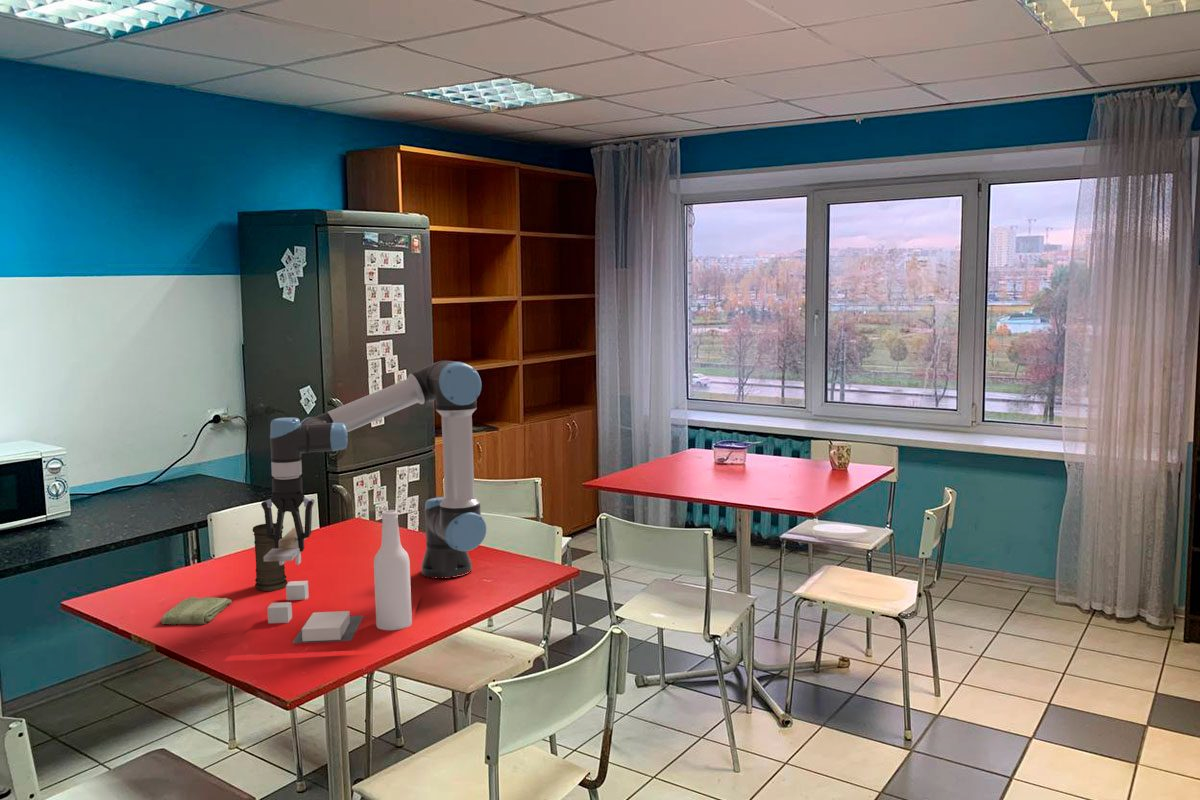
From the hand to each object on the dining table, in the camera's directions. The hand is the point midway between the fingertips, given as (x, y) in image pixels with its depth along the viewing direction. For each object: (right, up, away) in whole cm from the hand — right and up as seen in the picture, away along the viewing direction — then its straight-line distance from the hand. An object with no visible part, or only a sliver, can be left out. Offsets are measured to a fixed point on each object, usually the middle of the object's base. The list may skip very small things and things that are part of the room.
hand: (290, 563), depth 247 cm
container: (-14, -11, +24) cm, 30 cm away
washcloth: (-25, -14, +1) cm, 29 cm away
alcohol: (+30, -14, -12) cm, 36 cm away
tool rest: (-1, -13, +1) cm, 13 cm away
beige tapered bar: (0, +4, 0) cm, 4 cm away
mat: (+15, -15, -15) cm, 25 cm away
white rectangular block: (+14, -12, -12) cm, 22 cm away
